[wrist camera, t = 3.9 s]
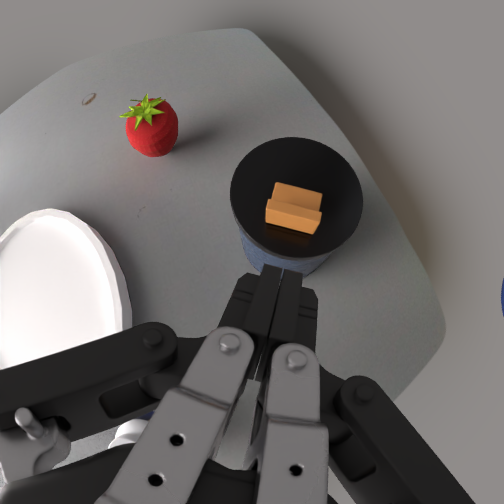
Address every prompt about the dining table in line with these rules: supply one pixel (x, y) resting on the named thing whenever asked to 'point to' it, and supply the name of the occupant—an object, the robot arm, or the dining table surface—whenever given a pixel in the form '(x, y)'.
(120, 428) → the pill bottle
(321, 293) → the dining table surface
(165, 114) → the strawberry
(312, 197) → the orange l-shaped block
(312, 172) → the travel cup
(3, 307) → the plate
